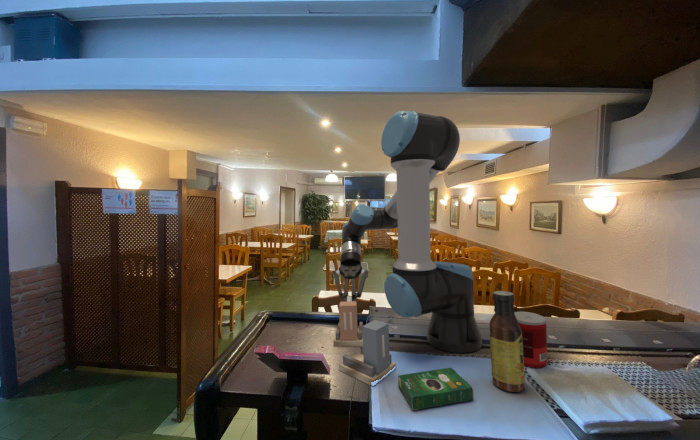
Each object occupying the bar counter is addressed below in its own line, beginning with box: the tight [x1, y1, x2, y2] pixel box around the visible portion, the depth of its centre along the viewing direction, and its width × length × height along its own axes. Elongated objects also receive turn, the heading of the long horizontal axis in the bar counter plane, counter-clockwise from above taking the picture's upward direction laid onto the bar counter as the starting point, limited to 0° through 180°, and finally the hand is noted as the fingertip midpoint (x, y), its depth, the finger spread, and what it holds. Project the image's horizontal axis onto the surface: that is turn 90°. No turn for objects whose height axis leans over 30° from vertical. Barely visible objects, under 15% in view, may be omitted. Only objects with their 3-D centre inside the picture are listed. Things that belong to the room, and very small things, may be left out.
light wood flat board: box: [333, 321, 397, 386], centre depth 76 cm, size 13×32×4 cm, turn 15°
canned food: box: [514, 311, 548, 369], centre depth 68 cm, size 8×8×11 cm
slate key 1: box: [362, 319, 391, 374], centre depth 65 cm, size 4×5×10 cm
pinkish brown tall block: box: [338, 301, 359, 340], centre depth 82 cm, size 4×5×10 cm
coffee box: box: [397, 367, 475, 411], centre depth 57 cm, size 8×3×13 cm
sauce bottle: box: [489, 290, 526, 393], centre depth 59 cm, size 7×6×20 cm
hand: (349, 317), depth 85 cm, fingers closed
